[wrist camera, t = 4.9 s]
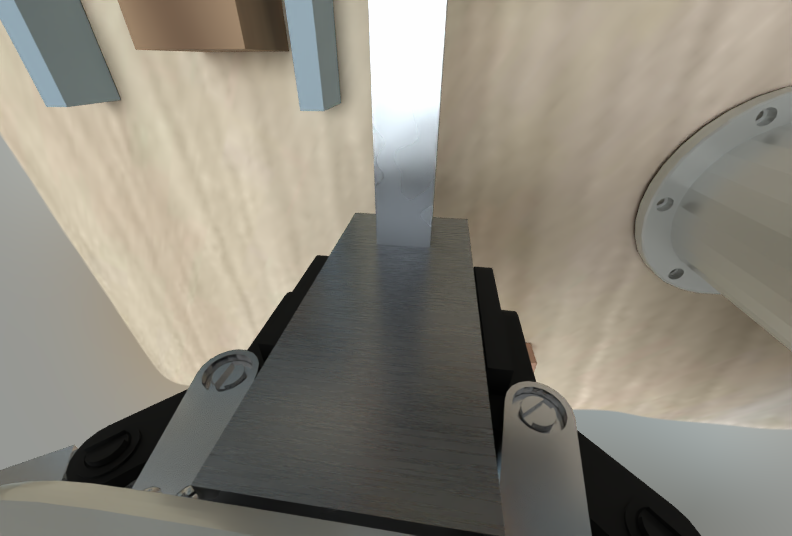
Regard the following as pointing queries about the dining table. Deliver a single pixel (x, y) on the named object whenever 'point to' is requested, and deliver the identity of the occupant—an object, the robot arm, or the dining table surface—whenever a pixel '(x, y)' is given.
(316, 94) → the cubby
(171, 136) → the dining table surface
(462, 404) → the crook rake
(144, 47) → the walnut block
